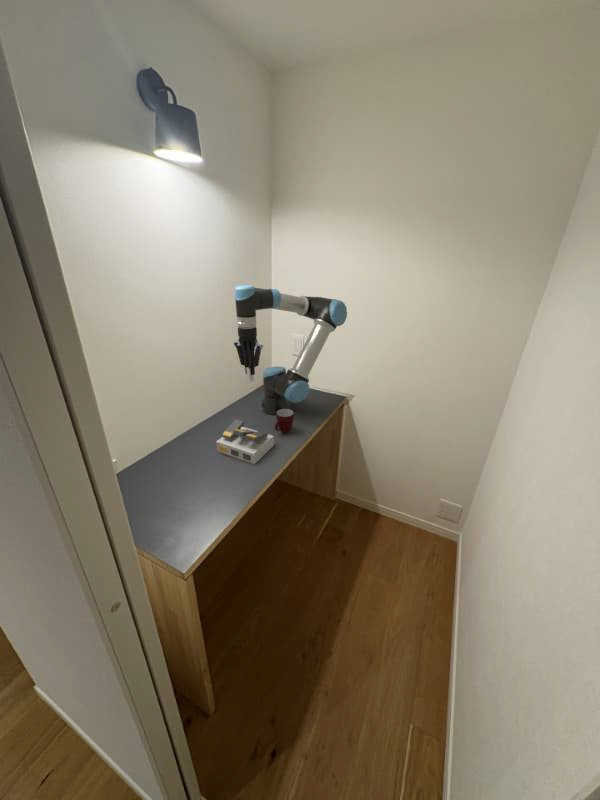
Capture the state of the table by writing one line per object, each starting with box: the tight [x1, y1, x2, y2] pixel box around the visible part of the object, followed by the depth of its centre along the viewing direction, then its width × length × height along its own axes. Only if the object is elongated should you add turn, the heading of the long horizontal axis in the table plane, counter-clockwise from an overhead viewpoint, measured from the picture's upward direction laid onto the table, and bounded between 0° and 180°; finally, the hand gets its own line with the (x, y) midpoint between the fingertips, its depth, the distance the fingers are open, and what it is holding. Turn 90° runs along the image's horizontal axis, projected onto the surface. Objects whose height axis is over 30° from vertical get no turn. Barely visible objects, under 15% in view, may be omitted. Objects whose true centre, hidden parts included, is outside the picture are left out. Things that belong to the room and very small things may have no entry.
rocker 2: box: [233, 428, 256, 436], centre depth 133 cm, size 10×4×2 cm, turn 153°
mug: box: [274, 408, 295, 434], centre depth 146 cm, size 10×8×10 cm
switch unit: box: [215, 426, 275, 465], centre depth 135 cm, size 15×19×7 cm
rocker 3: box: [245, 430, 269, 442], centre depth 130 cm, size 10×4×2 cm, turn 153°
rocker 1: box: [221, 418, 245, 440], centre depth 135 cm, size 10×4×2 cm, turn 153°
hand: (250, 381), depth 136 cm, fingers closed
